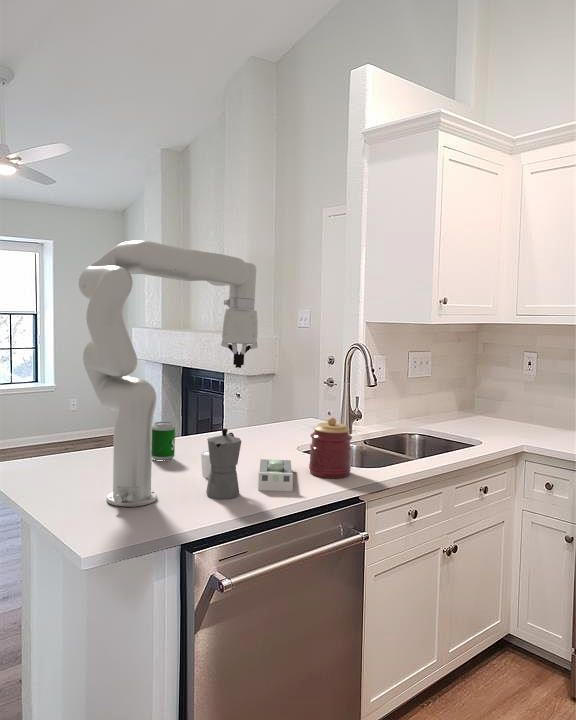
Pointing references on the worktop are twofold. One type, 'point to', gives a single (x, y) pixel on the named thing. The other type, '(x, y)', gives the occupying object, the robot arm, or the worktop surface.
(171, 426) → the soda can
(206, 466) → the white cup
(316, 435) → the canister
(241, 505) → the worktop surface
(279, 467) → the button middle
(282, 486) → the button board
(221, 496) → the coffeepot
